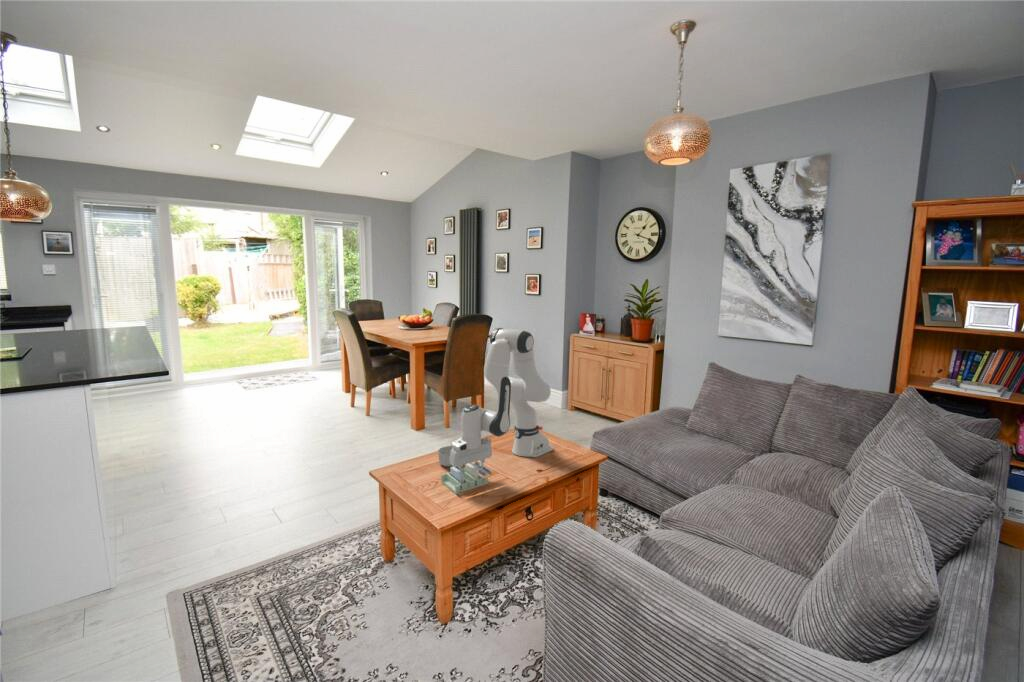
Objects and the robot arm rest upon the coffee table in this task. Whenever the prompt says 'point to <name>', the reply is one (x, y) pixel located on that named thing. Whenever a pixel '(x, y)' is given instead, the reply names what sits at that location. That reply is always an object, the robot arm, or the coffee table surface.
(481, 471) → the stand
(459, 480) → the rack
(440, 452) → the teacup
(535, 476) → the coffee table surface
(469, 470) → the plate
